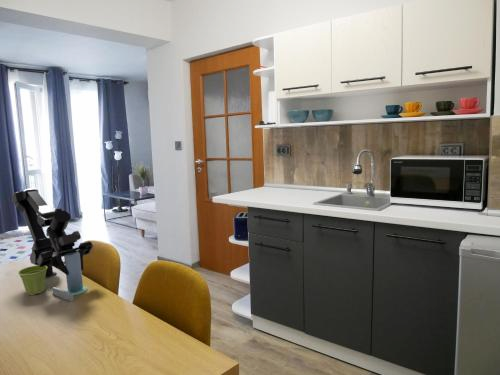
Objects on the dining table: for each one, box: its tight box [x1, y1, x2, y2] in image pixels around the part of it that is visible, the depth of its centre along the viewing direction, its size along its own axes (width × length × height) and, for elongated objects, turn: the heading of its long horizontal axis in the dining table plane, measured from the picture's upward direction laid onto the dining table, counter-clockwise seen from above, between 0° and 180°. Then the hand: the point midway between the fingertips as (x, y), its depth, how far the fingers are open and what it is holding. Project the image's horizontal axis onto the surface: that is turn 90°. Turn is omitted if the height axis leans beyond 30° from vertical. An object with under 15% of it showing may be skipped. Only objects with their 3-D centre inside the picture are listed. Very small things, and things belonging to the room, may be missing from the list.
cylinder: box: [63, 252, 84, 291], centre depth 138 cm, size 5×5×13 cm
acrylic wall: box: [51, 286, 75, 302], centre depth 134 cm, size 12×1×2 cm, turn 56°
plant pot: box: [17, 265, 47, 296], centre depth 139 cm, size 9×9×9 cm
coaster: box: [64, 285, 88, 296], centre depth 139 cm, size 8×8×1 cm
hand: (75, 272), depth 138 cm, fingers closed on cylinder, 5 cm apart
